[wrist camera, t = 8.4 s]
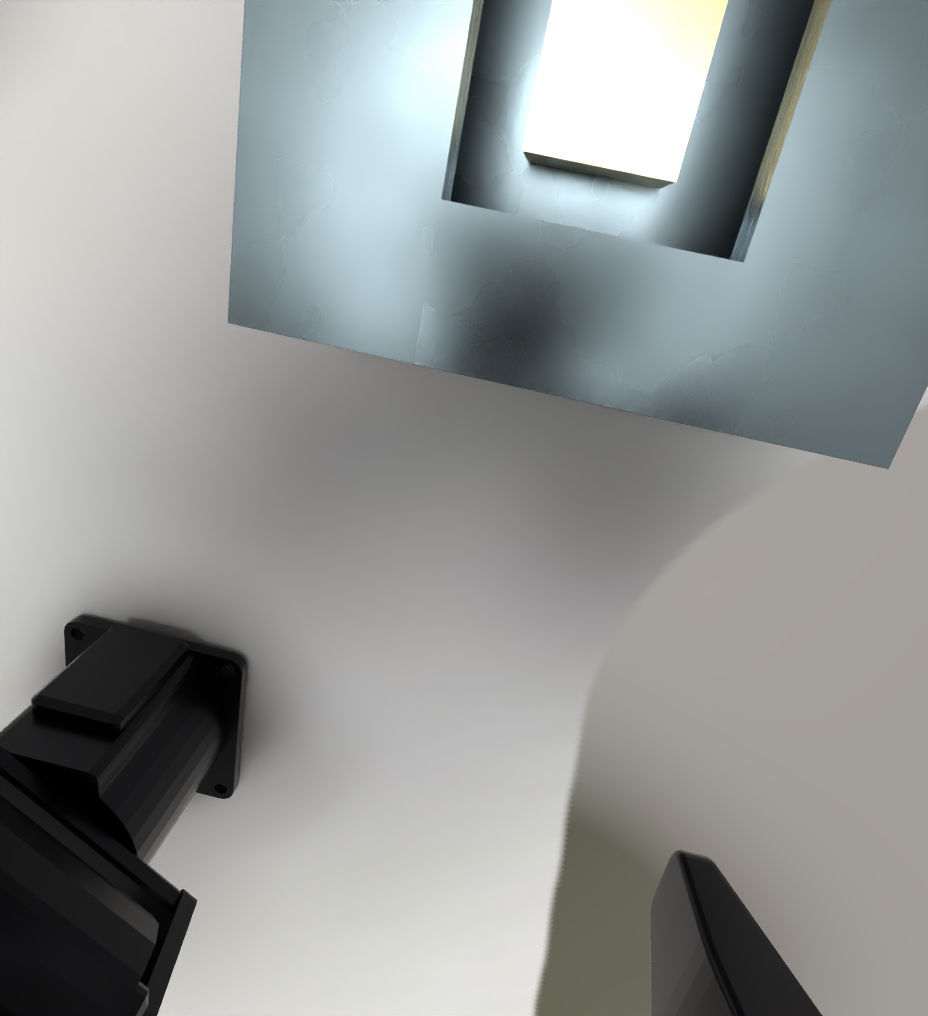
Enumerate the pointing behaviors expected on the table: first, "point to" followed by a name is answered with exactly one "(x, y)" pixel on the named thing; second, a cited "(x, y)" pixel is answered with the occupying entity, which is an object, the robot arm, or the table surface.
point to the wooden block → (621, 86)
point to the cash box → (599, 215)
